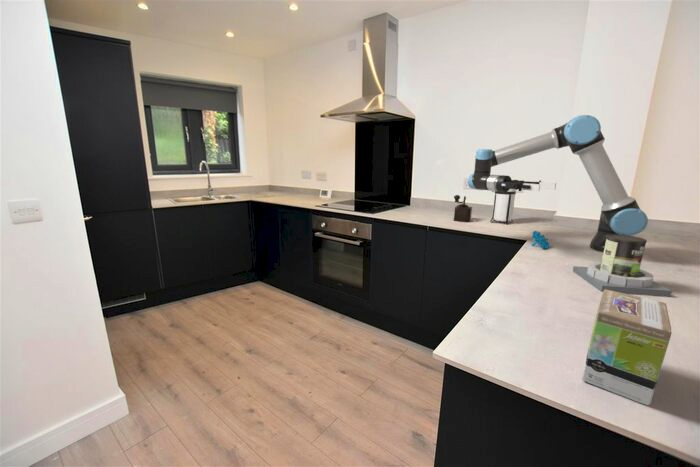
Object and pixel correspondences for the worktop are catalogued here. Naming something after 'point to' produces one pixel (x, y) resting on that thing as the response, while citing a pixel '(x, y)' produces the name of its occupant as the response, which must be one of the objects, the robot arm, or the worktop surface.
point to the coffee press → (503, 206)
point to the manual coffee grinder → (462, 211)
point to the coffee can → (622, 255)
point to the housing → (621, 281)
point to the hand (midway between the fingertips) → (547, 187)
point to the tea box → (628, 345)
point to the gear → (540, 240)
